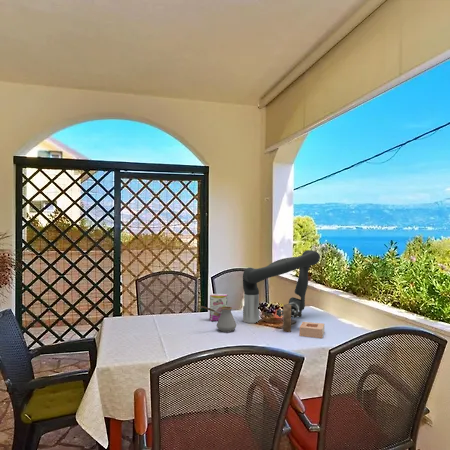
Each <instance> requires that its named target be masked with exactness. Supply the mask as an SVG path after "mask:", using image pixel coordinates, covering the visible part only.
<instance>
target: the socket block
mask: <svg viewBox="0 0 450 450" xmlns="http://www.w3.org/2000/svg"><path fill="white" fill-rule="evenodd" d="M324 335H325V323H320V322H309V321H302V323H301V324H300V326H299V336H298V337H305V338H306V337H307V338H313V339H314V338H316V339H323V337H324Z"/></svg>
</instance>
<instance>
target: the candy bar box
mask: <svg viewBox="0 0 450 450" xmlns="http://www.w3.org/2000/svg"><path fill="white" fill-rule="evenodd" d="M221 307H229V293H226V294H225V293H210V294H209V308H210V309H213V310H215V311H218V312H221V313H222V309H221ZM220 315H221V314H219V313H217V312H213V311H210V310H209V322H218V320H219V318H220Z"/></svg>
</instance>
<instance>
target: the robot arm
mask: <svg viewBox="0 0 450 450" xmlns="http://www.w3.org/2000/svg"><path fill="white" fill-rule="evenodd" d="M320 259H321V255H320V254H319V252H317V251H315V250H310V249H307V250H304V251H303V252H302V254H301V255H299V256H290V257H285V258H281V259H277V260H275V261H273V262H272V263H269V264H268V265H266V266H263V267H259V268H253V267H248V268H245V269H244V271H243V273H242V288H243V302H244V303H243V306H242V310H243V311H242V322H243V323H248V324H257V323H259V322H260V290H259V287H258V283H260V282H262V281H265V280H267V279H269V278H274V277H277V276H280V275H284V274H288V273H289V272H292V271H295V270H298V269H299V273H298V278H297V281H296V285H295V289H294V294H295V295H297V296H299V298H298V297H297V298H296V297H293V296H292V297H290V298H289V300H288V303H287V304H290V305H291V318H293V319H297V318H298V317H299V318H301V317H302V316H303V315H302V314H303V311H304V310H305V308H306V293H307V289H308V286H309V271H310V267H311V266H313V265H317V264H318V263H319V262H320ZM258 307H259V309H258ZM275 313H276V314H275V315H276V316H277V317H278V318H281V317H282V316H283V309H281V308H278V309H277V310H276V312H275ZM258 321H259V322H258ZM256 322H257V323H256Z"/></svg>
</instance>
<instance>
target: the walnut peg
mask: <svg viewBox="0 0 450 450" xmlns="http://www.w3.org/2000/svg"><path fill="white" fill-rule="evenodd" d="M282 307H283V308H282V310H283V317H282V318H283V321H282V323H283V324H282V325H283V327H282V328H283V330H282V331H283V332H284V333H291V332H292V317H291V305H290V304H288V303H283V305H282Z"/></svg>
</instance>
